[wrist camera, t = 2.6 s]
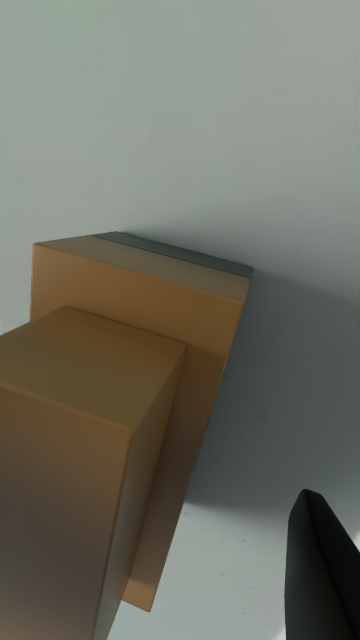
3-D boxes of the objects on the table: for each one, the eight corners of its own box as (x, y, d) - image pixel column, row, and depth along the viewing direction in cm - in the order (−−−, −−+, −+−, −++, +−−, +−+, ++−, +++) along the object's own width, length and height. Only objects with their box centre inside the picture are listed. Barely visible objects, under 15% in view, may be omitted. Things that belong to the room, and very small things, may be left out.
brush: (181, 503, 12) (105, 762, 6) (84, 464, 12) (-62, 667, 7) (254, 267, 8) (227, 375, 3) (115, 230, 9) (-121, 263, 4)
